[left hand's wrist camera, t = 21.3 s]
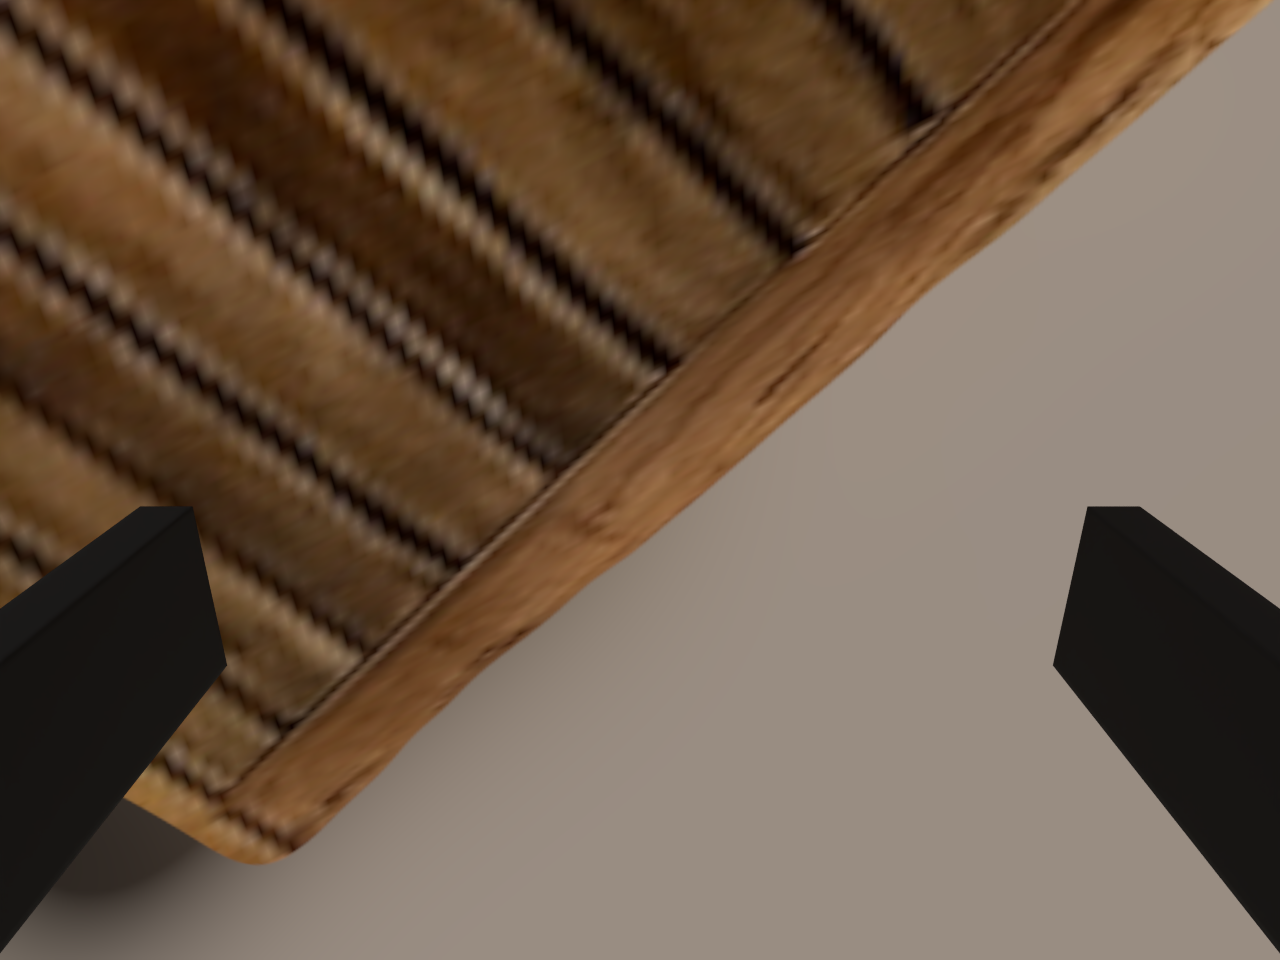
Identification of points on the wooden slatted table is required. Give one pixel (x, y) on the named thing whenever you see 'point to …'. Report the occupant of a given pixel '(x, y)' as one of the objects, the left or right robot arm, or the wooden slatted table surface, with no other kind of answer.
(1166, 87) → the wooden slatted table surface
